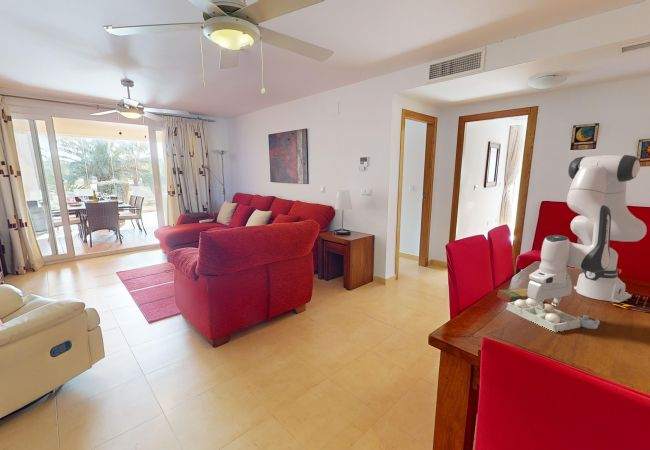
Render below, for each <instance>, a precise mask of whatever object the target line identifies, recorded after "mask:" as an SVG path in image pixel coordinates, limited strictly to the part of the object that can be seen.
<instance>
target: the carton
mask: <svg viewBox="0 0 650 450" xmlns="http://www.w3.org/2000/svg"><path fill="white" fill-rule="evenodd" d="M527 291H528V287H524V288H523V287H522V288H508V289H498V291H497V298H498V299H500V300H502V301H504V302H505V303H506V304H507V303H509V302H515V301H516V300H519V299H521V300H527V299H528V298H529V297H528V295H527Z"/></svg>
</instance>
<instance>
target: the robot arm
mask: <svg viewBox="0 0 650 450" xmlns="http://www.w3.org/2000/svg"><path fill="white" fill-rule="evenodd" d="M640 170H641V163H640V159H639V158H638V157H637V156H634V155H631V154H630V155H629V154H628V155H627V154H624V155H619V154H618V155H617V154H603V155H591V156H579V157H575V158H573V160H572V161H571V162H570V164H569V166H568V171H567V172H568V176H569V178H570V179H572V182H571V184H570V186H569V190H568V193H567V197H566V204H567V206H568V208H569V209H570V210H571V211H573V212H574V213H577V214H578V215H577V216H575V217H574V218H573V219H572V220H571V222H570V227H569V228H570V230H571V231H572V233H573V234H574V235H576V237H578V238H579V239H580V240H581V242H582V243H583V244H580V243H575V242H571V241H570V239H569V237H567V236H565V235H560V234H552V235H547V236H546V237H545V238H544V239H543V242H542V245H541V251H540V259H541V260H540V263H539V266H538V269H536V270H535V271H532V272H531V273H529V275H528V279H529V282H528V285H527V288H528V291H527V295H528V297H529V298H530V299H532V300H535V301H537V303H538V308H540V309H544V308H545V305H544V304H545V303H544V302H545V300H548V299H553V300H552V301H551V304H550V305H552V306H553V307H554V308H555V307H559V303H560V302H561V300H562V298H563V297H566V296H570V295H571V294H572V289H574V290H575V291H576V293H578V294H579V295H580V296H584V297H586V298H590V299H594V300H598V301H605V302H606V301H607V302H612V303H622V302H624V301H626V300H629V299H630V298H632V294H630V293H628V292H626V288H627V287H626V283H625V282H623V281H622V280H621V279H620V278H619V276H618V274H621V273H622V269H621V268H617V265H618V259H619V254H618V252H617V251H616V250H615V249H614V248H612V247H610V244H611V243H610V242H611V241H615V242H616V241H618V242H639V241H640V240H642V239H643V238H644V237H645V236H646V235H647V230H648V229H647V226H646V224H645V222H644V221H643V220H641V219H639V218H637V217H636V216H635V215H633V213H632V212H631V211H629V209H628V206H627V200H626V199H627V198H626V195H627V194H626V193H627V192H626V191H627V182H628V181H629V182H630V181H631V180H634V179H635V178H636V177H637V175H638V173H639V172H640ZM567 267H571V268H576V269H579V270H582V273H580V274H579V275H578V279H577V283H576V285H574V286H573V285H572V284H573V282H572V279H571V275H570V274H569V273H568V268H567Z"/></svg>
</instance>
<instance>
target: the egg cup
mask: <svg viewBox="0 0 650 450" xmlns="http://www.w3.org/2000/svg"><path fill="white" fill-rule="evenodd" d="M589 317H590V316H589V315H585V314H583V316H582V317H581V316H578V315H577V316H576V318H578V319H581V327H582V328H585V329H589V330H590V329H591V330H597V329H599V325H600V320H599V319H596V318H595V320H592V319H589Z"/></svg>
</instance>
